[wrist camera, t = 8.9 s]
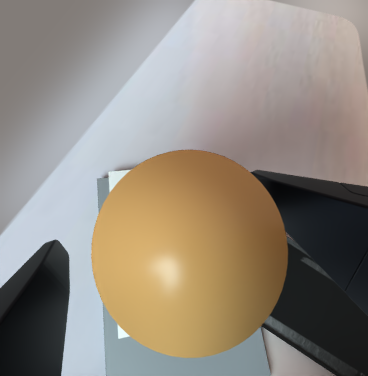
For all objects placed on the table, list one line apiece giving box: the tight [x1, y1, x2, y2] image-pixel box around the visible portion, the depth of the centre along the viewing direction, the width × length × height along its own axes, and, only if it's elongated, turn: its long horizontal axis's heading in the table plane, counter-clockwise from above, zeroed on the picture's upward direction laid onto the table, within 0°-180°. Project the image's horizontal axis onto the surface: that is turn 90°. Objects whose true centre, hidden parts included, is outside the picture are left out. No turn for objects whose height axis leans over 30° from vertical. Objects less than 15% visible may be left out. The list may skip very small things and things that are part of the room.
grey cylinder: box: [91, 150, 288, 358], centre depth 10 cm, size 4×4×13 cm
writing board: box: [97, 170, 271, 376], centre depth 16 cm, size 18×12×1 cm, turn 9°
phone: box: [261, 236, 368, 376], centre depth 17 cm, size 8×1×15 cm
